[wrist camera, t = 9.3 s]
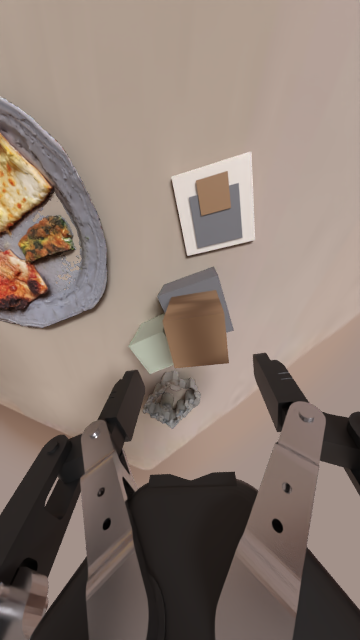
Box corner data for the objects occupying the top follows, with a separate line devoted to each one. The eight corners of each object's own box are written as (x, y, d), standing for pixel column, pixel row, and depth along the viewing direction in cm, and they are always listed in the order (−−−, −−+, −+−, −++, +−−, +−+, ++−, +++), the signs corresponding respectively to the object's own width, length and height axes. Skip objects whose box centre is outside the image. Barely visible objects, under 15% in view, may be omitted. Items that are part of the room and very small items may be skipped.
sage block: (158, 347, 29) (149, 374, 24) (141, 323, 27) (128, 346, 22) (184, 336, 28) (182, 361, 22) (169, 310, 26) (162, 331, 21)
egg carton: (169, 364, 31) (165, 382, 27) (204, 383, 32) (205, 402, 29) (142, 398, 35) (136, 417, 32) (174, 413, 37) (172, 433, 33)
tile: (187, 255, 22) (187, 256, 21) (171, 177, 19) (171, 175, 18) (253, 239, 21) (256, 240, 20) (249, 153, 17) (252, 149, 17)
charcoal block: (181, 326, 27) (179, 345, 23) (164, 284, 24) (157, 296, 20) (227, 313, 26) (233, 330, 21) (213, 266, 23) (217, 275, 18)
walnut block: (179, 334, 22) (174, 368, 17) (171, 297, 20) (162, 321, 14) (220, 329, 21) (228, 363, 16) (216, 289, 19) (224, 313, 14)
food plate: (13, 337, 30) (-7, 349, 27) (-127, 182, 21) (-183, 173, 18) (142, 286, 25) (135, 293, 22) (27, 53, 16) (-13, 8, 13)
